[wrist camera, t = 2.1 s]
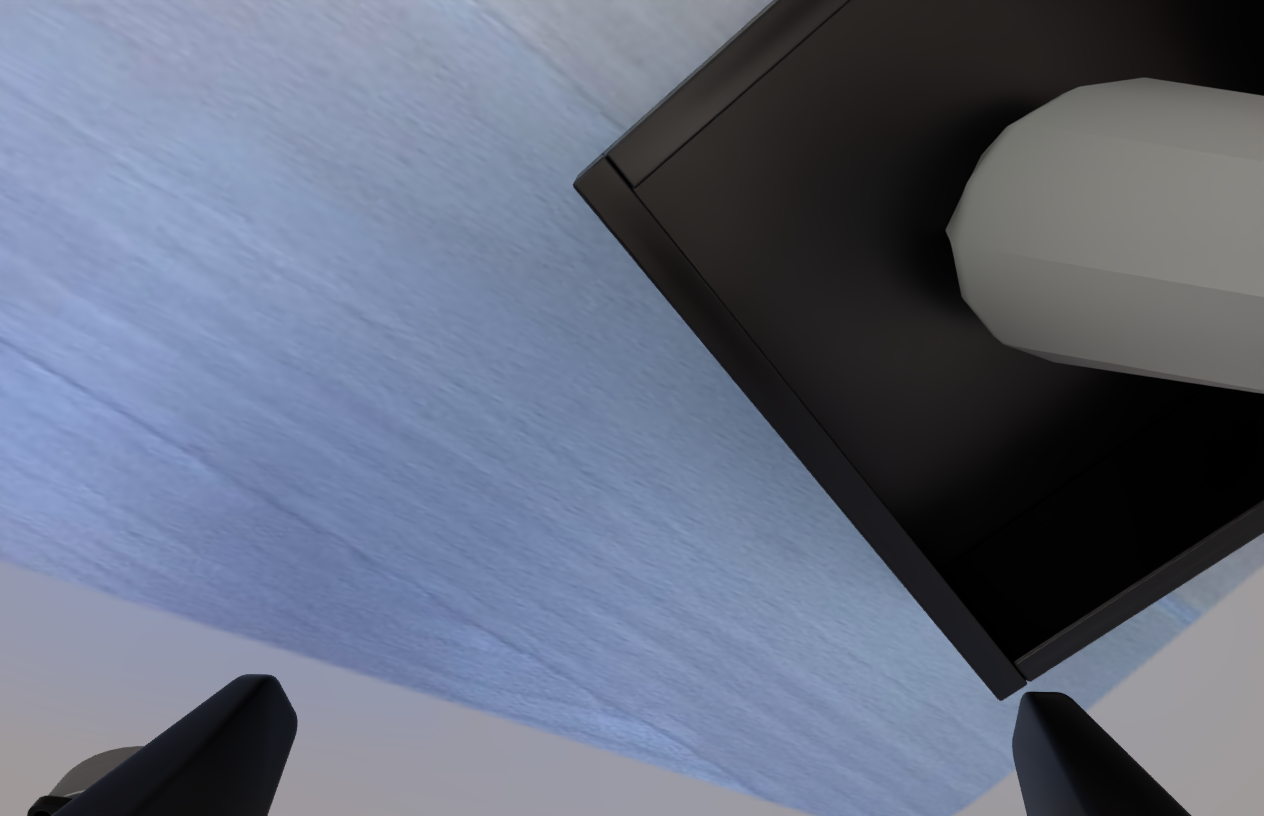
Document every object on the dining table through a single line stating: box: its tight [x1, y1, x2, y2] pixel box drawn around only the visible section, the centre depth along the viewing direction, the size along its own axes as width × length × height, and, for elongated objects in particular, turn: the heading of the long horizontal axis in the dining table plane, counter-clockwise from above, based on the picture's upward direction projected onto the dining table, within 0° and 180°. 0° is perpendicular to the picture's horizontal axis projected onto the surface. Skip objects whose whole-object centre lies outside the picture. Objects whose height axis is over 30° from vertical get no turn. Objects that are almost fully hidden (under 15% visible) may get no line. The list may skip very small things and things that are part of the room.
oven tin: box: [573, 0, 1264, 701], centre depth 16 cm, size 16×16×4 cm
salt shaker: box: [945, 77, 1264, 394], centre depth 12 cm, size 6×6×13 cm
